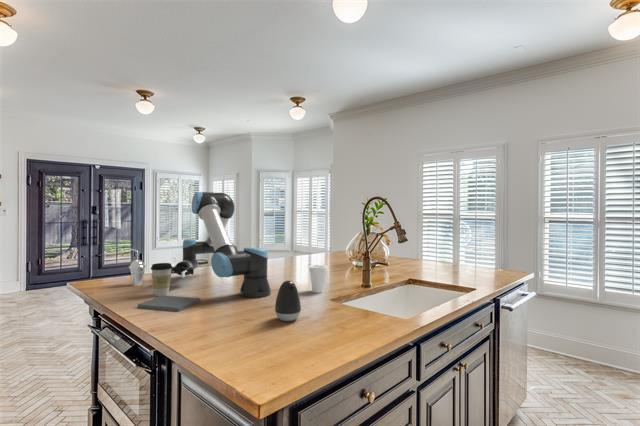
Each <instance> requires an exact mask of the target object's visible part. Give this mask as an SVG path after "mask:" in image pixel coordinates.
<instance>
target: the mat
mask: <svg viewBox="0 0 640 426" xmlns="http://www.w3.org/2000/svg"><path fill="white" fill-rule="evenodd" d="M200 302H201V298H200V297H189V296H188V297H187V296H176V295H175V296H174V295H166V296H165V295H162V296H155V297H153V298H151V299H149V300H145V301H143V302H141V303H138V304H137V308H138V309H145V310H146V309H147V310H156V311H170V312H180V311H183V310H185V309H187V308H190V307H191V306H193V305H195V304H198V303H200Z"/></svg>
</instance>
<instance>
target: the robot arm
mask: <svg viewBox="0 0 640 426" xmlns="http://www.w3.org/2000/svg"><path fill="white" fill-rule="evenodd" d="M191 212H192V214H194V215H197V216H198V217H199V219H200V220H202V221H203V223H204V226H205V228H206V231H207V237H206V239H205V241H197V239H195V238H186V239H185V238H184V240H182V261H179V262H178V263H176V265H175V266H172V269H171V275H172V274H173V275H174V274H177V275H179V276H180V277H181V279H182V278H183V279H184V278H185V277H187V276H189V275H192V276H193V275H194V274H195V273H194V272H195V269H196V268H198V264H199V262H198V260H197V255H202V254H203V255H204V254H205V255H206V254H212V255H211V258H210V260H211V261H210V264H211V269H212V271H213V273H214V275H216V276H217V277H219V278H230V277H237V276H243V279H242V283H241V287H240V288H239V289H240V290H239V295H240V296H241V297H243V298H250V299H255V298H256V299H257V298H264V297H268V296H270V295H271V294H272V293H271V292H272V288H271V285H270V282H269V280H268V259H269V258H268V257H269V256H268V251H267V249H265V248H258V247H244V248H243V250H238V247H237V246H236V245H235V244H232V242H231V239H230V237H229V235H228V232H227V230H226V226H227V224H228V222H229V220H230V219H232V217H233V215H234V213H235V203H234V200H233V199H232V197H231V196H230V195H229V194H227V193H225V192H224V193H223V192H209V191H198V192H195V193H194V194H193V195H192V200H191Z"/></svg>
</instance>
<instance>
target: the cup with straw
mask: <svg viewBox="0 0 640 426" xmlns="http://www.w3.org/2000/svg"><path fill="white" fill-rule="evenodd" d="M129 250H131V251H134V252H136V259H135V260H132V261H131V262H130V265H128V269H130V275H131V282H132V286H133V287H134V286H135V287H138V286H142V285H143V281H144V280H143V279H144V272H145V268H146V267H147V265H146V264H145V263H144V261H143V260H141V259H139V250H137V249H135V248H129Z"/></svg>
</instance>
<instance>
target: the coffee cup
mask: <svg viewBox="0 0 640 426" xmlns="http://www.w3.org/2000/svg"><path fill="white" fill-rule="evenodd" d="M172 267H173V266H172V263H170V262H160V263H157V262H156V263H153V264H152V265H151V267H150V270H151V279H152V286H153V287H152V288H153V291H154V292H153V293H154V296H155V297H159V296H162V295H165V296H169V293H170V286H171V278H172V274H171V269H172Z"/></svg>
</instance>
